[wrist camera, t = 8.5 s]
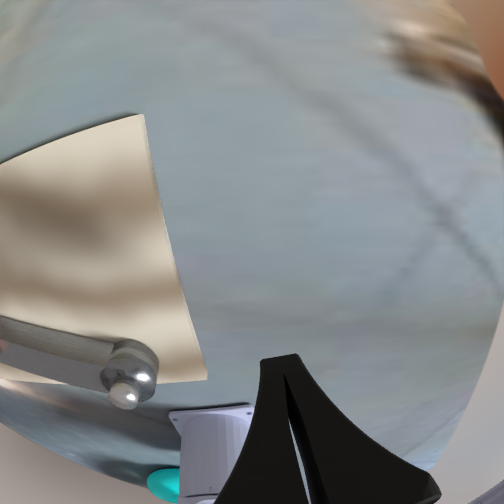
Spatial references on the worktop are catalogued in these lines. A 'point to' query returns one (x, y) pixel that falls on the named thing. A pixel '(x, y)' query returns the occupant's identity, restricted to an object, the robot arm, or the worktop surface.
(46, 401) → the worktop surface
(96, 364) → the link
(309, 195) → the worktop surface
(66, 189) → the hinge board
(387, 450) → the robot arm
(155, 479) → the donuts
